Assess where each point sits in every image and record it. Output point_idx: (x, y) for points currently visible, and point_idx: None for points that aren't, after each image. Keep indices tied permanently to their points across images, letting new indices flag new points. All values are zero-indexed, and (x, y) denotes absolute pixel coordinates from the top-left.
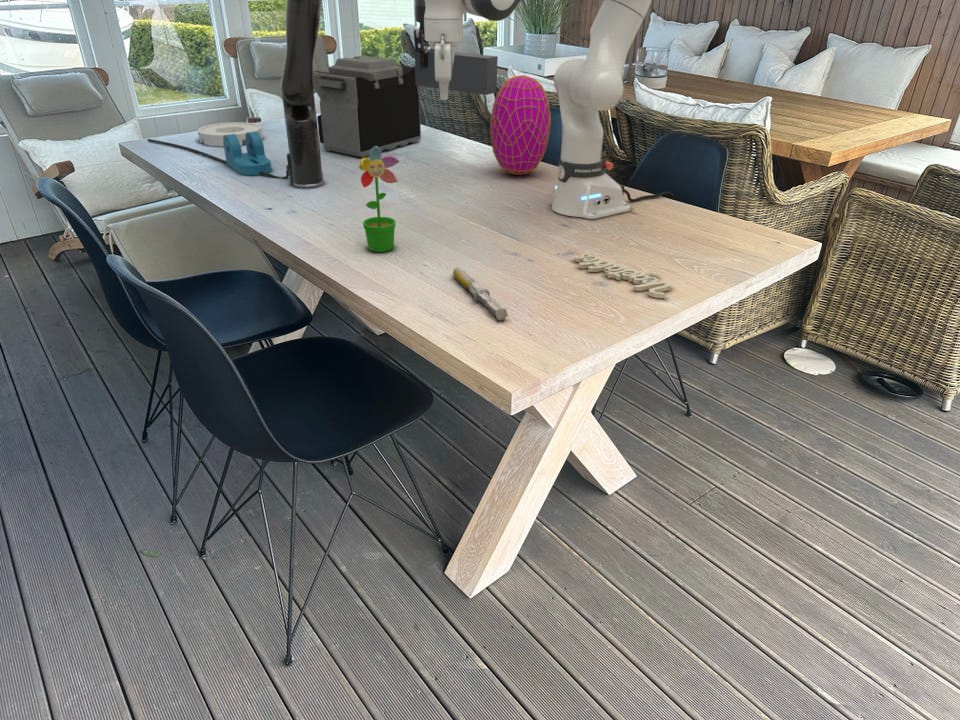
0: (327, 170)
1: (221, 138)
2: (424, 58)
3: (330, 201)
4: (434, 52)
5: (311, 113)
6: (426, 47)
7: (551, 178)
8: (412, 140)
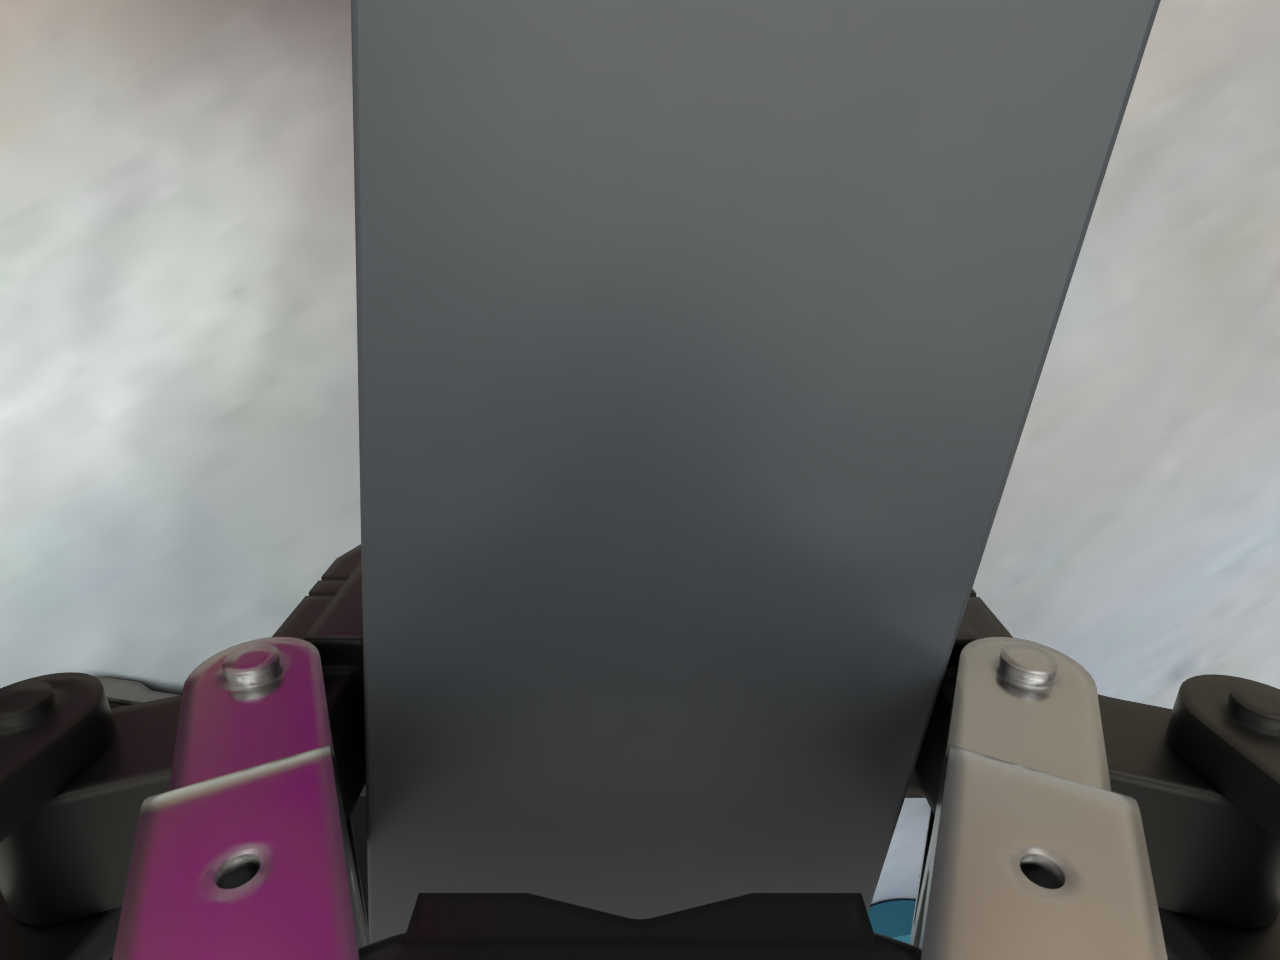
0: None
1: None
2: (974, 619)
3: (1207, 504)
4: (973, 454)
5: None
6: (1092, 758)
7: None
8: (143, 692)
